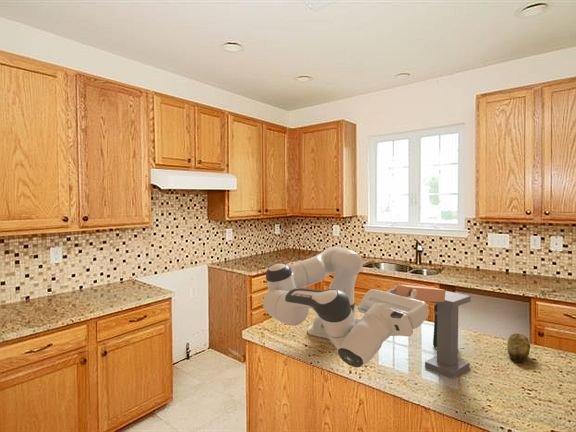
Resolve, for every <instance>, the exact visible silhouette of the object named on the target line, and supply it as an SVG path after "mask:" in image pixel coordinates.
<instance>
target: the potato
mask: <svg viewBox="0 0 576 432" xmlns="http://www.w3.org/2000/svg"><path fill="white" fill-rule="evenodd" d="M506 345H507V350H506V351H507V354H508V356H509V358H510V359H512V360H513V361H515V362H518V363H524V362H526V361H527V360H528V357H529V356H530V350H531V344H530V341H529V338H528V337H527V336H525V335H523V334H521V333H513V334H511V335H510V336H509V337H508V339H507V344H506Z"/></svg>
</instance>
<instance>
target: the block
mask: <svg viewBox="0 0 576 432" xmlns="http://www.w3.org/2000/svg"><path fill="white" fill-rule="evenodd" d="M396 285H397V289H396V294H395V295H399V296H403V297H407V298H408V296H410V294H409V291H410V290H411V289H414V290H416V291H417V295H416V296H415V300H419V301H423V302H427V301H433V302H444V301H445V293H446V291H447V290H446V289H441V288H437V287H431V286H429V287H428V286H416V285H409V284H396Z"/></svg>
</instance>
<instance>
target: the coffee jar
mask: <svg viewBox="0 0 576 432" xmlns="http://www.w3.org/2000/svg"><path fill="white" fill-rule="evenodd" d="M433 306H434V307H433V314H434V315H433V317H434V320H433V321H434V323H433V324H434V325H433V338H432V339H433V340H432V345H433V346H434V347H435V348H436V349H437V304H435V303H434V305H433Z"/></svg>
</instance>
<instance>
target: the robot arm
mask: <svg viewBox="0 0 576 432" xmlns="http://www.w3.org/2000/svg"><path fill="white" fill-rule="evenodd" d="M363 265H364V262H363V258H362V256H361V255H360V254H359V253H357V252H356V251H354V250H352V249H348V248H345V247H340V246H330V247H327V248H326V249H324V251H321V252H320V253H318V254H316V255H314V256H311V257H309V258H307V259H304V260H301V261H298V262H295V263H293V264H291V265H288V264H286V263H283V262H281V263H280V262H279V263H276V264H275V263H274V264H273V265H270V266H269V267H268V268H267V269H266V271H265V280H266V282H267V289H268V292H266V294H264V297H263V300H262V307H263V309H264V311H265V312H266V313H267V314H268V315H269V316H270V317H272V318H273V319H274V320H277V321H278V322H280V323H282V324H284V325H287V326H293V327H295V326H296V327H297V326H298V325H301V324H302V323H303V322H304V321H305V320H306V319H307V317H308V315H309V312H310V309H312V310H313V311H314V312H315V313H316V315H315V316H314V318H313V322H312V324H311V325H309V327H307V334H308V335H310V336H314V337H318V338H319V337H320V338H324V339H328V340H329V341H330V343H331V344H332V345H333V346H334V347H335V348H336V350H337V354H338V357H339V358H340V359H341V360H342V361H343V362H344V363H345V364H347V365H348V366H350V367H353V368H355V369H358V368H361V367H363V366H365V365H366V364H368V363H369V362H370V361H371V360H372V359H373V358H374V357H375V356H376V354H377V353H378V352H379V351H380V349H381V348H382V345H383V343H384V342H385V341H386V340H388V339H389V338H390V337H411V336H412V335H413V334H414V329H415V330H416V329H418V328H419V327H420V326H421V325H422V324H423V323H424V322H425V320H426V319H427V318H428V317H429V315H430V308H429V307H428V304H427V301H419V300H415V296H416V295H417V291H416V290H414V289H411V290H410V291H409V294H410V296H408V298H407V297H403V296H399V295H396V289H397V284H396V285H394V287H393V288H390V289H388V290H387V291H383V290H380V289H375V288H371V289H369V290H368V291H367V292H366V293H365V294H364V295H363V297H362V299H361V301H360V302H359V304H358V305H357V311H358V312H360V313H362V314H363V315H362V317H361V318H356V316H355V314H356V305H355V301H354V300H355V299H354V298H355V285H356V279H357V276H358V275H359V273H360V272H361V271H362V269H363ZM332 273H333V277H332V280H331V282H330V284H329V286H328V289H314V288H306V287H309V286H311V285H315V284H316V283H319V282H323V281H324V280H325V278H326V277H328V276H329V275H330V274H332Z"/></svg>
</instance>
